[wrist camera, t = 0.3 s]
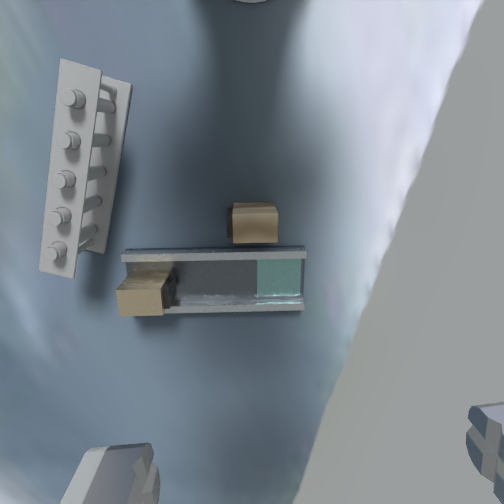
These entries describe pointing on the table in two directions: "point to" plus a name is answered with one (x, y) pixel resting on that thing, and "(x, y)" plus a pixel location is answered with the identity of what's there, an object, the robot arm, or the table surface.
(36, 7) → the table surface
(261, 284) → the rail
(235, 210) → the wooden block
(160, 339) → the table surface
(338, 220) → the table surface
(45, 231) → the test tube rack
